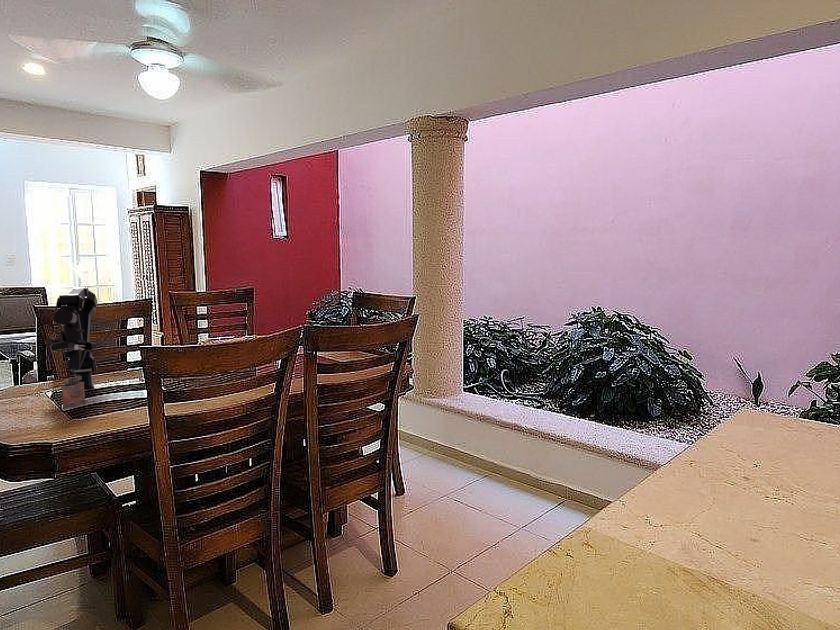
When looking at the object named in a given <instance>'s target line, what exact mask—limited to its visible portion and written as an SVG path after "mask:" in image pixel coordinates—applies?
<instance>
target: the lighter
mask: <svg viewBox="0 0 840 630" xmlns="http://www.w3.org/2000/svg"><path fill="white" fill-rule="evenodd" d="M81 379H82V376H76V377H75V376H74V377H72V376H70V377H68V378H65V379H64V385H62V386H60V389H61V391H62V402H63V403H62V404H63V405H62V409H70V408H74V407H79V406H81V405H84V403H85V404H86V403H87V402H86V394H85V389H84V382H79V381H78V380H81Z"/></svg>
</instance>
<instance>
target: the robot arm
mask: <svg viewBox="0 0 840 630" xmlns="http://www.w3.org/2000/svg"><path fill="white" fill-rule="evenodd" d="M97 308H98V298H97V296H96V293H94V292H92V291H91V290H89V288H88V287H87V286H75V287H72V290H71V291H70V292H69V293H61V294H59V296H58V297H57V299H56V303H55V308H54V310H55V313H54V316H53V317H54V318H53V319H54V321H55V322H56V323H57V324H59V325H61V326H62V331H60V332H59V336H58V337H52V336H49V337H47V338H45V347H46V348H49V349H50V352H60V351H62V350H64V351H62V352H61V354H62V355H65V356H67V357H68V360H67V366H68V372H69V375H74V377H76V376H82V379H81V380H78V381H79V382H84V390H87V389H89V390H90V389H95V385H94V383H93V376H92V373H97V372H98V366H97V362H96V360H95V358H94V357H93V354H92V352H91V351H93V350H98V346H97V343H96V342H93V341H90V333H91V332H90V331H91V319H92V317H93V316H94V314H96V309H97Z"/></svg>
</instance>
